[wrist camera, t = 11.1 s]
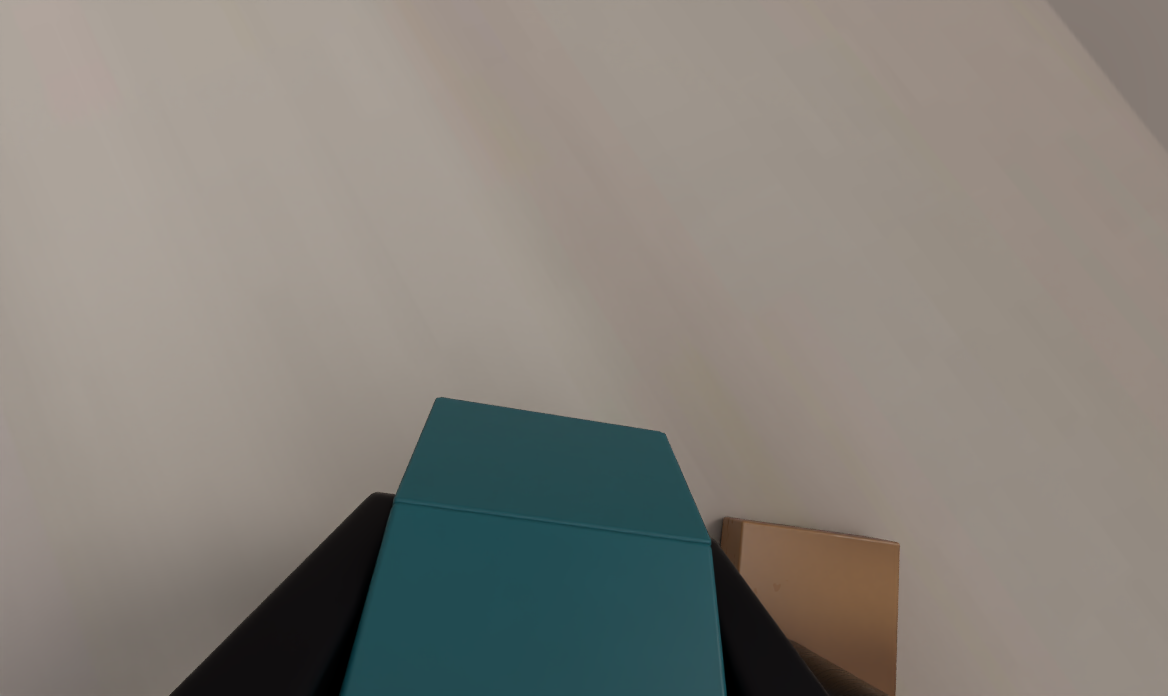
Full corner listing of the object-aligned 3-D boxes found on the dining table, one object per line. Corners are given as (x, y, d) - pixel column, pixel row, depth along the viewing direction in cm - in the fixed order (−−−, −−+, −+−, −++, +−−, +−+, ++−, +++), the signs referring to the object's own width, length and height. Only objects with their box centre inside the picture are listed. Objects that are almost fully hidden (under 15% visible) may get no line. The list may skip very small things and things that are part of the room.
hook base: (859, 818, 18) (892, 849, 16) (696, 806, 17) (716, 838, 16) (870, 537, 19) (900, 542, 18) (722, 516, 19) (742, 520, 17)
